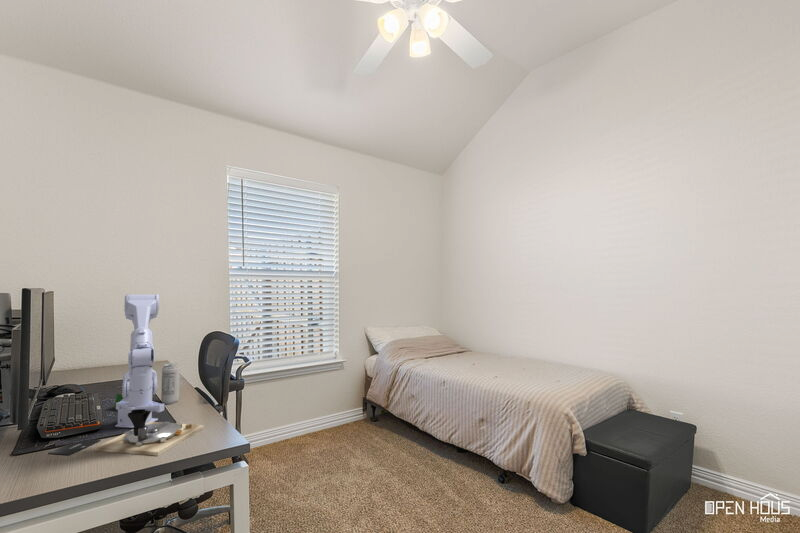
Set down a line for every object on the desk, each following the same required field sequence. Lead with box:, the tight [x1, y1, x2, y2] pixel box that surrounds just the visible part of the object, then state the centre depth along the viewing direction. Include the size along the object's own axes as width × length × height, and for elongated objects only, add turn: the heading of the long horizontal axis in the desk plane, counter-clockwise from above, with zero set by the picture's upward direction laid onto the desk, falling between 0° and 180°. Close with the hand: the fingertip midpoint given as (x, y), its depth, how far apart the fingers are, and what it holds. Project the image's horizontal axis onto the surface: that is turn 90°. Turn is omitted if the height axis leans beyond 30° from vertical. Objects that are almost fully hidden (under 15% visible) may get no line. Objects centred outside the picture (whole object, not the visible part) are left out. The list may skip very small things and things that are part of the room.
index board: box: [95, 421, 205, 457], centre depth 121 cm, size 20×20×2 cm
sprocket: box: [122, 421, 183, 446], centre depth 121 cm, size 16×16×4 cm
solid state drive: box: [48, 438, 101, 456], centre depth 115 cm, size 7×10×1 cm
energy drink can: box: [160, 362, 180, 405], centre depth 156 cm, size 6×6×15 cm
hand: (139, 434), depth 116 cm, fingers closed, pressing on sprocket
